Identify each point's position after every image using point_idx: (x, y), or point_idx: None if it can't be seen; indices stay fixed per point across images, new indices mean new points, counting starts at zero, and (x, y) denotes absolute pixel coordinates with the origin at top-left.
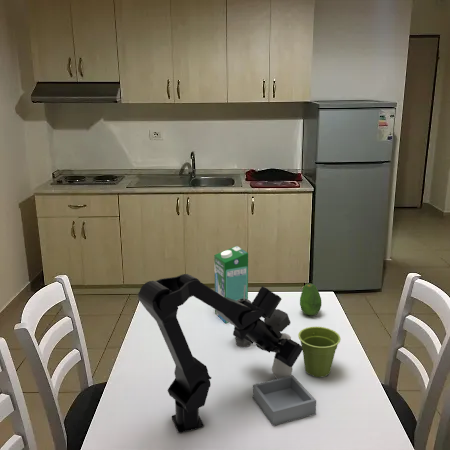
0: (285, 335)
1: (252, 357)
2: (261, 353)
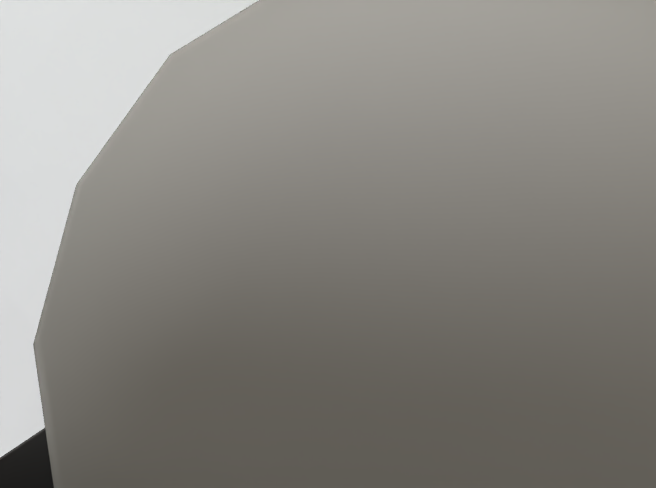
0: (505, 216)
1: (10, 349)
2: (22, 227)
